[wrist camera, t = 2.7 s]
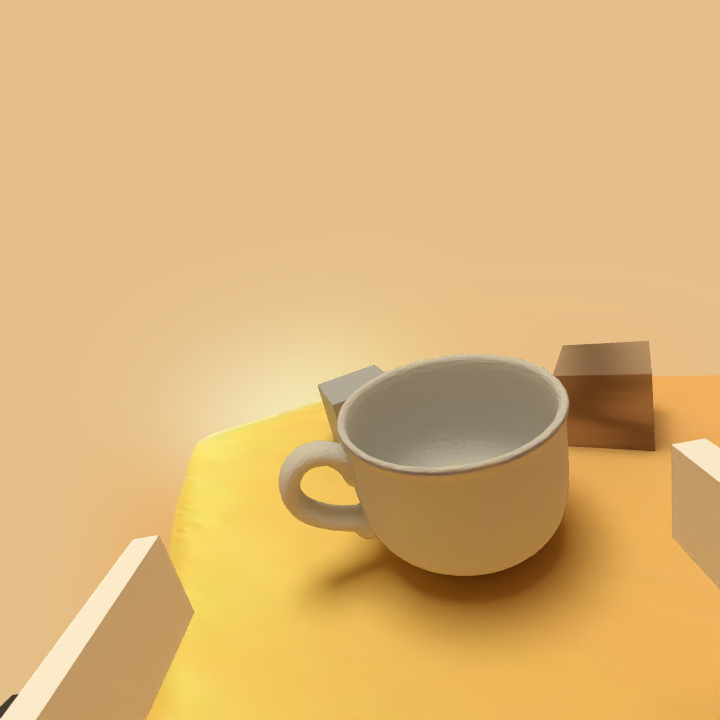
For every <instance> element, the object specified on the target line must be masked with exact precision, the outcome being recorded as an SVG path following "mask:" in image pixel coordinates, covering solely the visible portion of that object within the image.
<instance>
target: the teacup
mask: <svg viewBox="0 0 720 720" xmlns="http://www.w3.org/2000/svg"><path fill="white" fill-rule="evenodd" d="M569 406H570V405H569V398H568V394H567V392H566V389H565V388H564V386H563V385H562V384H561V382H560V381H559V379H557V378H556V377H555V376H554V375H552V374H551V373H550V372H549V371H548V370H546V369H545V368H543V367H539V366H537V365H534V364H531V363H529V362H526V361H524V360H521V359H515V358H511V357H506V356H496V355H495V356H494V355H452V356H443V357H439V358H432V359H425V360H422V361H418V362H413V363H410V364H407V365H404V366H400V367H398V368H395V369H393V370H391V371H388V372H385V373H383V374H381V375H379V376H377V377H375V378H373V379H371V380H370V381H368V382H367V383H365V384H363V385H362V386H361V387H359V388H358V389H357V390H356V391H354V392H353V393H352V394H351V395H350V396H349V397H348V398H347V400H346V401H345V403H344V404H343V405H342V407H341V409H340V412H339V416H338V420H337V431H338V435H339V440H340V442H341V443H336V442H331V441H314V442H309V443H306V444H304V445H302V446H299V447H297V448H296V449H295V450H294V451H293V452H292V453H291V454H290V455H289V456H288V457H287V458H286V460H285V462H284V464H283V465H282V468H281V471H280V476H279V489H280V493H281V497H282V500H283V502H284V504H285V506H286V508H287V509H288V510H289V511H290V512H291V513H292V515H293V516H294V517H296V518H297V519H298V520H300V521H302V522H303V523H305V524H308V525H311V526H314V527H317V528H323V529H329V530H336V531H350V532H356V533H357V534H358V535H359V536H361V537H363V538H366V539H372V538H376V537H377V538H379V539H380V540H381V542H382V543H383V544H384V545H385V546H386V547H387V548H388V549H389V550H390V551H391V552H393V553H394V554H395V555H397V556H398V557H400V558H401V559H403V560H405V561H406V562H408V563H410V564H411V565H414V566H416V567H419V568H421V569H424V570H427V571H430V572H434V573H439V574H446V575H453V576H476V575H483V574H490V573H494V572H498V571H502V570H504V569H507V568H510V567H513V566H515V565H517V564H519V563H521V562H523V561H525V560H526V559H528V558H529V557H531V556H533V555H534V554H535V553H536V552H538V551H539V550H540V549H541V548H542V547H543V546H544V545H545V544H546V543H547V542H548V541H549V540H550V538H551V537H552V536H553V535H554V533H555V532H556V530H557V528H558V527H559V525H560V522H561V520H562V518H563V514H564V511H565V508H566V503H567V496H568V485H569V460H568V436H567V422H566V419H567V416H568V412H569ZM319 466H329V467H332V468H334V469H336V470H337V471H338V472H339V473H340V474H341V475H342V476H343V478H344V479H345V481H346V482H347V483H348V484H349V485H351V486H354V487H355V489H356V493H357V496H358V498H359V501H360V503H359V504H357V505H331V504H326V503H322V502H318V501H316V500H314V499H311V498H309V497H308V496H306V495H305V494H304V493H303V492H302V491H301V489H300V481H301V479H302V477H303V475H304V474H305V473H306V472H307V471H308V470H310V469H312V468H314V467H319Z"/></svg>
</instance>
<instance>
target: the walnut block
mask: <svg viewBox="0 0 720 720" xmlns="http://www.w3.org/2000/svg"><path fill="white" fill-rule="evenodd" d="M553 375H554V376H555V377H556V378H557V379H559V381H560V382H561V384H562V385H563V386H564V388H565V389H566V392H567V394H568V398H569V405H570V406H569V412H568V416H567V419H566V422H567V436H568V446H577V447H594V448H611V449H628V450H646V451H655V439H654V415H653V391H652V371H651V362H650V350H649V341H641V342H623V343H604V344H586V345H585V344H584V345H566V346H562V350H561V352H560V356H559V359H558V362H557V365H556V368H555V371H554V374H553Z"/></svg>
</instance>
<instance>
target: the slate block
mask: <svg viewBox="0 0 720 720" xmlns="http://www.w3.org/2000/svg"><path fill="white" fill-rule="evenodd" d="M383 373H385V372H383V371H382V370H381V369H379V368H378V367H376V366H375V365H373V366H370V367H367V368H364V369H361V370H358V371H356V372H353V373H350V374H347V375H344V376H341V377H339V378H336V379H333V380H330V381H327V382H325V383H322V384H319V385H318V388H319V391H320V394H321V397H322V401H323V404H324V407H325V411H326V414H327V417H328V420H329V424H330V427H331V430H332V433H333V437H334V439H335V440H336V442H337V443H341V442H340V440H339V435H338V431H337V420H338V416H339V412H340V409H341V407H342V405H343V404H344V403H345V401H346V400H347V398H348V397H349V396H350V395H351V394H352V393H353V392H354V391H356V390H357V389H358V388H359V387H361V386H362V385H363V384H365V383H367V382H368V381H370V380H371V379H373V378H375V377H377V376H379V375H381V374H383Z"/></svg>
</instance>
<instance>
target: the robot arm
mask: <svg viewBox="0 0 720 720" xmlns="http://www.w3.org/2000/svg"><path fill="white" fill-rule="evenodd" d="M671 446H672V538H673V539H674V540H675V541H676V542H677V543H678V544H679V545H680V546H681V548H682V549H683V550H684V551H685V552H686V553H687V554H688V555H689V556H690V557H691V558H692V560H693V561H694V562H695V563H696V564H697V565H698V566H699V567H700V568H701V569H702V571H703V572H704V573H705V574H706V575H707V576H708V577H709V578H710V579H711V580H712V581H713V583H714V584H715V585H716V586H717V587H718V588H719V589H720V448H718V447H717V446H716V445H714V444H713V443H711V442H710V441H708V440H707V439H700V440H695V441H689V442H683V443H678V444H672V445H671ZM193 614H194V610H193V608H192V606H191V604H190V601H189V599H188V597H187V595H186V593H185V590H184V588H183V586H182V584H181V582H180V580H179V577H178V575H177V573H176V571H175V569H174V566H173V564H172V562H171V560H170V558H169V555H168V553H167V551H166V549H165V547H164V545H163V542H162V540H161V538H160V536H159V535H156V536H151V537H145V538H139V539H133V540H132V541H131V543H130V544H129V546H128V547H127V548H126V550H125V551H124V552H123V554H122V555H121V556H120V558H119V559H118V561H117V562H116V563H115V564H114V566H113V567H112V569H111V570H110V571H109V573H108V574H107V575H106V577H105V578H104V579H103V581H102V582H101V583H100V585H99V586H98V587H97V589H96V590H95V592H94V593H93V594H92V596H91V597H90V598H89V600H88V601H87V602H86V604H85V605H84V607H83V608H82V609H81V611H80V612H79V613H78V615H77V616H76V617H75V619H74V620H73V622H72V623H71V624H70V626H69V627H68V628H67V629H66V631H65V632H64V634H63V635H62V636H61V638H60V639H59V640H58V642H57V643H56V644H55V646H54V647H53V648H52V650H51V651H50V653H49V654H48V655H47V657H46V658H45V659H44V661H43V662H42V663H41V665H40V666H39V667H38V669H37V670H36V672H35V673H34V674H33V676H32V677H31V678H30V680H29V681H28V682H27V684H26V685H25V686H24V688H23V689H22V690H21V692H20V693H19V694H16V695H12V696H11V697H10V698H9V699H8V700H7V701H6V702H5V703H4V704H3V705H2V706H1V707H0V720H146V718H147V716H148V714H149V711H150V709H151V707H152V705H153V702H154V700H155V698H156V696H157V694H158V691H159V689H160V687H161V685H162V683H163V680H164V678H165V676H166V674H167V671H168V669H169V667H170V665H171V663H172V660H173V658H174V656H175V654H176V651H177V649H178V647H179V645H180V643H181V640H182V638H183V636H184V634H185V632H186V629H187V627H188V625H189V623H190V620H191V618H192V616H193Z"/></svg>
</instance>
